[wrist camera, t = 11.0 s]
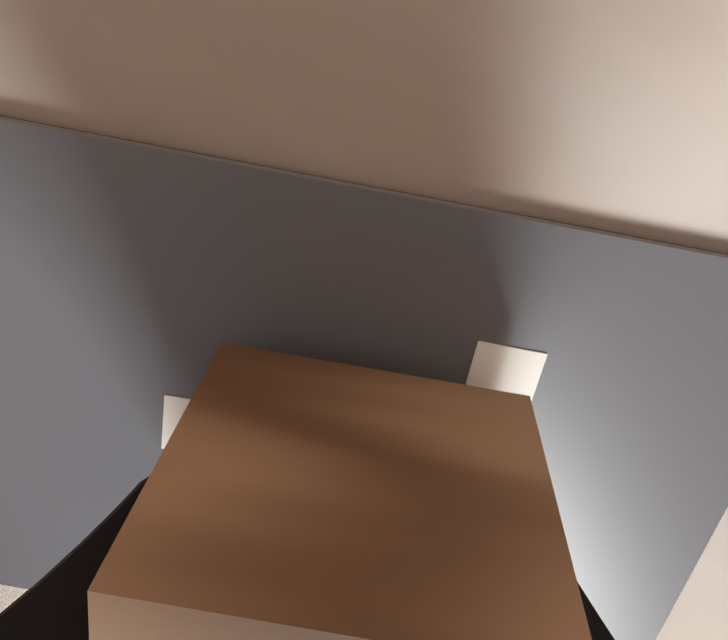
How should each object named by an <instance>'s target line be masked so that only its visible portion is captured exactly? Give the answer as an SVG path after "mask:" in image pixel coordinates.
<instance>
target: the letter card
mask: <svg viewBox="0 0 728 640" xmlns="http://www.w3.org/2000/svg"><path fill="white" fill-rule="evenodd" d="M221 342H222V343H228V344H233V345H239V346H245V347H251V348H256V349H262V350H268V351H274V352H279V353H285V354H291V355H297V356H303V357H308V358H314V359H320V360H326V361H331V362H337V363H343V364H349V365H354V366H360V367H366V368H372V369H378V370H383V371H389V372H395V373H401V374H406V375H412V376H418V377H424V378H429V379H435V380H441V381H447V382H453V383H458V384H464V385H470V386H476V387H481V388H487V389H493V390H499V391H504V392H510V393H516V394H522V395H528V396H530V399H531V403H532V407H533V410H534V414H535V418H536V422H537V426H538V430H539V434H540V438H541V442H542V446H543V450H544V454H545V457H546V461H547V465H548V469H549V473H550V477H551V481H552V485H553V489H554V493H555V497H556V501H557V505H558V508H559V512H560V516H561V520H562V524H563V528H564V532H565V536H566V540H567V544H568V548H569V552H570V555H571V559H572V563H573V567H574V571H575V575H576V579H577V582H578V583H579V585H580V586H581V588H582V590H583V591H584V593H585V594H586V596H587V597H588V599H589V601H590V602H591V604H592V605H593V607H594V608H595V610H596V611H597V613H598V614H599V616H600V618H601V619H602V621H603V622H604V624H605V625H606V627H607V628H608V630H609V631H610V633H611V634H612V636H613V637H614V639H615V640H656V638H657V636H658V634H659V632H660V630H661V628H662V627H663V625H664V623H665V621H666V619H667V617H668V615H669V614H670V612H671V610H672V608H673V606H674V604H675V603H676V601H677V599H678V597H679V595H680V593H681V591H682V590H683V588H684V586H685V584H686V582H687V580H688V579H689V577H690V575H691V573H692V571H693V569H694V567H695V566H696V564H697V562H698V560H699V558H700V556H701V555H702V553H703V551H704V549H705V547H706V545H707V543H708V542H709V540H710V538H711V536H712V534H713V532H714V531H715V529H716V527H717V525H718V523H719V521H720V519H721V518H722V516H723V514H724V512H725V510H726V508H727V507H728V255H727V254H722V253H717V252H711V251H706V250H701V249H696V248H690V247H685V246H680V245H675V244H669V243H664V242H659V241H654V240H648V239H643V238H638V237H633V236H627V235H622V234H617V233H612V232H606V231H601V230H596V229H591V228H585V227H580V226H575V225H570V224H564V223H559V222H554V221H549V220H543V219H538V218H533V217H528V216H522V215H517V214H512V213H507V212H501V211H496V210H491V209H486V208H480V207H475V206H470V205H465V204H459V203H454V202H449V201H444V200H438V199H433V198H428V197H423V196H417V195H412V194H407V193H402V192H396V191H391V190H386V189H381V188H375V187H370V186H365V185H360V184H354V183H349V182H344V181H339V180H333V179H328V178H323V177H318V176H312V175H307V174H302V173H297V172H291V171H286V170H281V169H276V168H271V167H265V166H260V165H255V164H250V163H244V162H239V161H234V160H229V159H223V158H218V157H213V156H208V155H202V154H197V153H192V152H187V151H181V150H176V149H171V148H166V147H160V146H155V145H150V144H145V143H139V142H134V141H129V140H124V139H118V138H113V137H108V136H103V135H97V134H92V133H87V132H82V131H76V130H71V129H66V128H61V127H55V126H50V125H45V124H40V123H34V122H29V121H24V120H19V119H13V118H8V117H3V116H0V584H2V585H8V586H14V587H20V588H26V589H30V588H31V587H32V586H34V585H35V584H36V583H37V582H38V581H39V580H40V579H41V578H43V577H44V576H45V575H46V574H47V573H48V572H49V571H50V570H51V569H52V568H53V567H55V566H56V565H57V564H58V563H59V562H60V561H61V560H62V559H63V558H64V557H65V556H66V555H68V554H69V553H70V552H71V551H72V550H73V549H74V548H75V547H76V546H77V545H78V544H80V543H81V542H82V541H83V540H84V539H85V538H86V537H87V536H88V535H89V534H90V533H91V532H92V531H93V530H94V529H95V528H96V527H97V526H98V525H99V524H100V523H101V522H102V521H103V520H104V519H105V518H106V517H107V516H108V515H109V514H110V513H111V512H112V511H113V510H114V509H115V508H116V507H117V506H118V505H119V504H120V503H121V502H122V501H123V500H124V499H125V497H126V496H127V495H128V494H129V493H130V492H131V491H132V490H133V489H134V488H135V487H136V486H137V485H138V484H139V482H140V481H142V480H144V479H145V478H147V477H149V476H150V474H151V472H152V470H153V468H154V467H155V465H156V463H157V461H158V459H159V457H160V455H161V454H162V452H163V450H164V448H165V446H166V444H167V442H168V441H169V439H170V437H171V435H172V433H173V431H174V430H175V428H176V426H177V424H178V422H179V420H180V418H181V417H182V415H183V413H184V411H185V409H186V407H187V405H188V404H189V402H190V400H191V398H192V396H193V394H194V392H195V391H196V389H197V387H198V385H199V383H200V381H201V380H202V378H203V376H204V374H205V372H206V370H207V368H208V367H209V365H210V363H211V361H212V359H213V357H214V355H215V354H216V352H217V350H218V348H219V346H220V344H221Z"/></svg>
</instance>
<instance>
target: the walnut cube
mask: <svg viewBox="0 0 728 640" xmlns="http://www.w3.org/2000/svg"><path fill="white" fill-rule="evenodd" d="M87 596H88V623H89V640H592V638H591V634H590V630H589V626H588V622H587V618H586V614H585V610H584V606H583V602H582V599H581V595H580V591H579V587H578V583H577V579H576V575H575V571H574V567H573V563H572V559H571V555H570V552H569V548H568V544H567V540H566V536H565V532H564V528H563V524H562V520H561V516H560V512H559V508H558V505H557V501H556V497H555V493H554V489H553V485H552V481H551V477H550V473H549V469H548V465H547V461H546V457H545V454H544V450H543V446H542V442H541V438H540V434H539V430H538V426H537V422H536V418H535V414H534V410H533V407H532V403H531V399H530V396H528V395H522V394H516V393H510V392H504V391H499V390H493V389H487V388H481V387H476V386H470V385H464V384H458V383H453V382H447V381H441V380H435V379H429V378H424V377H418V376H412V375H406V374H401V373H395V372H389V371H383V370H378V369H372V368H366V367H360V366H354V365H349V364H343V363H337V362H331V361H326V360H320V359H314V358H308V357H303V356H297V355H291V354H285V353H279V352H274V351H268V350H262V349H256V348H251V347H245V346H239V345H233V344H228V343H222V342H221V344H220V346H219V348H218V350H217V352H216V354H215V355H214V357H213V359H212V361H211V363H210V365H209V367H208V368H207V370H206V372H205V374H204V376H203V378H202V380H201V381H200V383H199V385H198V387H197V389H196V391H195V392H194V394H193V396H192V398H191V400H190V402H189V404H188V405H187V407H186V409H185V411H184V413H183V415H182V417H181V418H180V420H179V422H178V424H177V426H176V428H175V430H174V431H173V433H172V435H171V437H170V439H169V441H168V442H167V444H166V446H165V448H164V450H163V452H162V454H161V455H160V457H159V459H158V461H157V463H156V465H155V467H154V468H153V470H152V472H151V474H150V476H149V478H148V479H147V481H146V483H145V485H144V487H143V489H142V491H141V492H140V494H139V496H138V498H137V500H136V502H135V504H134V505H133V507H132V509H131V511H130V513H129V515H128V517H127V518H126V520H125V522H124V524H123V526H122V528H121V529H120V531H119V533H118V535H117V537H116V539H115V541H114V542H113V544H112V546H111V548H110V550H109V552H108V554H107V555H106V557H105V559H104V561H103V563H102V565H101V566H100V568H99V570H98V572H97V574H96V576H95V578H94V579H93V581H92V583H91V585H90V587H89V589H88V591H87Z"/></svg>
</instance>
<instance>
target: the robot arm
mask: <svg viewBox="0 0 728 640" xmlns="http://www.w3.org/2000/svg"><path fill="white" fill-rule="evenodd" d="M148 478H149V477H147V478H145V479H144V480H142V481H140V482H139V484H138V485H137V486H136V487H135V488H134V489H133V490H132V491H131V492H130V493H129V494H128V495H127V496H126V497H125V499H124V500H123V501H122V502H121V503H120V504H119V505H118V506H117V507H116V508H115V509H114V510H113V511H112V512H111V513H110V514H109V515H108V516H107V517H106V518H105V519H104V520H103V521H102V522H101V523H100V524H99V525H98V526H97V527H96V528H95V529H94V530H93V531H92V532H91V533H90V534H89V535H88V536H87V537H86V538H85V539H84V540H83V541H82V542H81V543H80V544H78V545H77V546H76V547H75V548H74V549H73V550H72V551H71V552H70V553H69V554H68V555H66V556H65V557H64V558H63V559H62V560H61V561H60V562H59V563H58V564H57V565H56V566H55V567H53V568H52V569H51V570H50V571H49V572H48V573H47V574H46V575H45V576H44V577H43V578H41V579H40V580H39V581H38V582H37V583H36V584H35V585H34V586H32V587H31V588H30V589H29V590H28V591H26V592H25V593H24V594H23V595H22V596H20V597H19V598H18V599H17V600H16V601H15V602H13V603H12V604H11V605H10V606H9V607H7V608H6V609H5V610H4V611H3V612H1V613H0V640H89V623H88V596H87V591H88V589H89V587H90V585H91V583H92V581H93V579H94V578H95V576H96V574H97V572H98V570H99V568H100V566H101V565H102V563H103V561H104V559H105V557H106V555H107V554H108V552H109V550H110V548H111V546H112V544H113V542H114V541H115V539H116V537H117V535H118V533H119V531H120V529H121V528H122V526H123V524H124V522H125V520H126V518H127V517H128V515H129V513H130V511H131V509H132V507H133V505H134V504H135V502H136V500H137V498H138V496H139V494H140V492H141V491H142V489H143V487H144V485H145V483H146V481H147V479H148ZM577 583H578V582H577ZM578 587H579V591H580V595H581V599H582V602H583V606H584V610H585V614H586V618H587V622H588V626H589V630H590V634H591V638H592V640H615V639H614V637H613V636H612V634H611V633H610V631H609V630H608V628H607V627H606V625H605V624H604V622H603V621H602V619H601V618H600V616H599V614H598V613H597V611H596V610H595V608H594V607H593V605H592V604H591V602H590V601H589V599H588V597H587V596H586V594H585V593H584V591H583V590H582V588H581V586H580V585H579V583H578Z"/></svg>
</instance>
